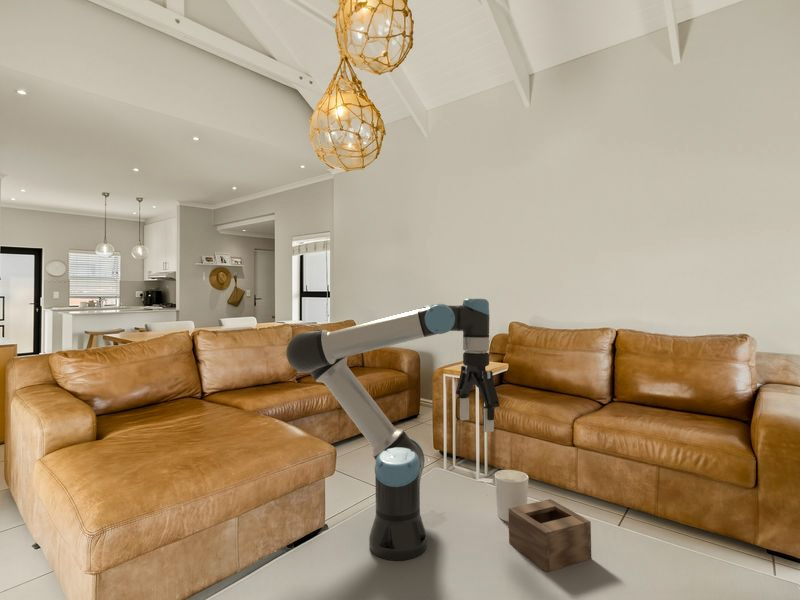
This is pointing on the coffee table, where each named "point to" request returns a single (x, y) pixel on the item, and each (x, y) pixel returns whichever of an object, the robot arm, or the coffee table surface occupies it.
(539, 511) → the box
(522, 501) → the candle holder
